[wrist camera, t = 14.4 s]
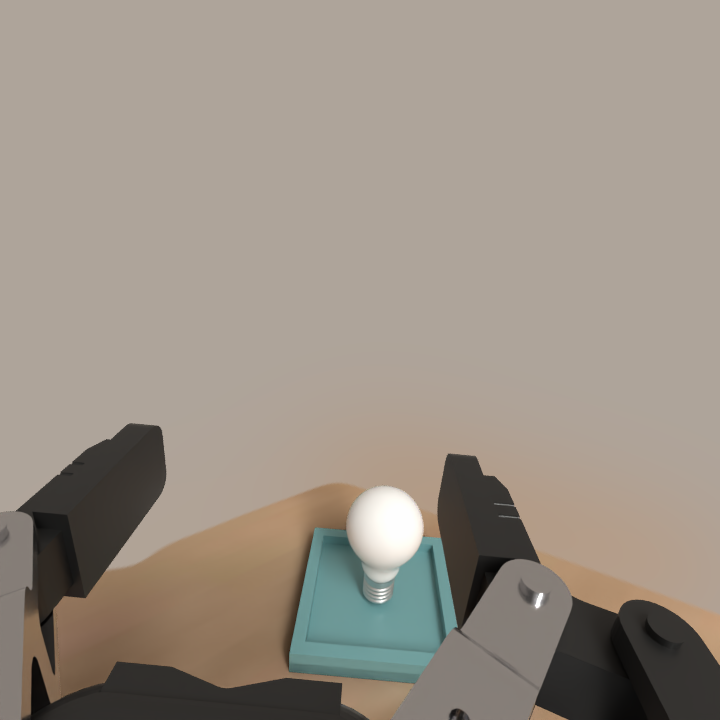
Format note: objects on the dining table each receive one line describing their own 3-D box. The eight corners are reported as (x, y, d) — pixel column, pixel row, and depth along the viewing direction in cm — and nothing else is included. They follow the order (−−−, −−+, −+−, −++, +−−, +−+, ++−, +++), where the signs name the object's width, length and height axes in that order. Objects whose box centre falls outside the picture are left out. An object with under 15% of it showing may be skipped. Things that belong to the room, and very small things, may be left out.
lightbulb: (326, 597, 37) (331, 493, 33) (371, 556, 42) (380, 461, 38) (384, 645, 33) (397, 535, 29) (426, 594, 38) (442, 493, 34)
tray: (289, 671, 32) (289, 653, 31) (314, 542, 44) (315, 527, 43) (461, 687, 32) (465, 669, 31) (438, 553, 44) (441, 538, 43)
